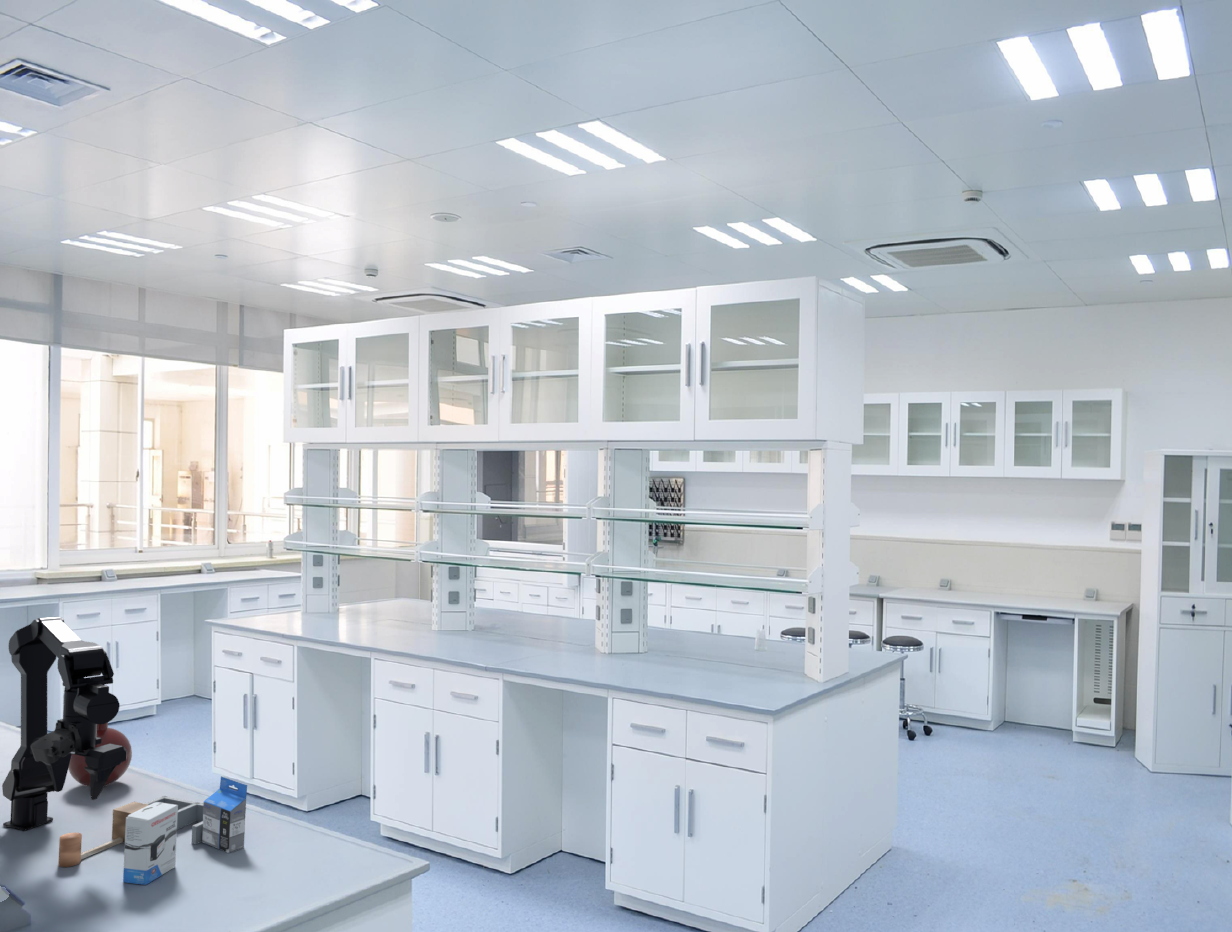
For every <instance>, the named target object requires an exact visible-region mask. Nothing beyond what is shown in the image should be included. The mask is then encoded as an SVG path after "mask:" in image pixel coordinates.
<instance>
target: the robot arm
mask: <svg viewBox="0 0 1232 932" xmlns="http://www.w3.org/2000/svg"><path fill="white" fill-rule="evenodd" d="M8 652H9V655H10V656H11V657H10V658H11V663H12V664H13V666H14V667H15V669H16V670H17V671H18V672H19V674H20V747H19V748H18V750H17V751H16V753H15V754H14V755H13V756H12V757H13V758H12V759H11V762H10V765H11V766H10V770H9V771H8V773H7V775H6V777H5V779H4V780H3V782H2V786H1V787H2V790H1V791H2V796H3V797H4V798H6V799H8V800H9V801H11V803H10V820H9V821H6V822H3V824H2V826H3V827H8V828H11V829H16V830H20V831H21V830H22V831H28V830H30V829H33V828H36V827H38V826H41V825H42V826H43V825H44V824H47V823H50V822H53V820H54V817H51V816H48V814H49V813H48V809H49V808H48V806H49V801H48V794H49V793H51V792H53V793H54V792H56V793H58V792H59V793H60V792H62V791H63V789H64V786H65V783H66V779H67V775H68V772H69V770H68V768H69V763H70V760H71V756H72V754H74V755H79V756H84V757H85V762H86V764H87V767H84V769H85V770H86V771H88V772H89V773H90V787H89V791H90V792H89V794H90V800H91V801H95V800H97V799H98V798H99V796H100V795H101V793H102V791H103V789H104V787H105V786H104V785H105V784H106V782H107V780H108V778H109V777H110V775H111V773H112V772H113V770H114V769H115V767H116V766H117V765H120V764H121V762H123V761H126V759H127V749H126V748H125V747H123V746H120V745H115V744H107V745H104V746H100V747H97V748H95V745H97V744H101V738H98V737H96V734H97V724H105V723H108V724H109V722H111V721H113V720H114V718H115V717H116V716H117V714H118V713H119V710H120V707H121V705H120V702H119V699H118V697H117V696H116V695H115V694H113V693H112V692H110V686H109V685H111V684H113V683H114V679H113V677H114V675H115V673H114V670H113V667H112V664H111V661H110V658H109V656H108V653H107V652H106V651H105V650H104V648H103V647H102V646H101V644H97V643H96V642H92V641H84V640H82V639H81V638H80V637H79V636H78V635H77V634H76V633H75V632H74V631H72V630H71V628H70V627H68V626H67V624H65V619H64V618H63V617H59V616H48V617H45V616H44V617H38V618H35V619H33V620H32V622H30V623H29V624H27V625H25V626H23V627H21V628H19V629H17V630H15V632H14V633H13V634H12V636H11V637H10V638H9V641H8ZM56 660H57V670H58V673H59V675H60V679H61V680H62V686H63V687H64V688H63V689H64V690H63V692H64V693H63V708H62V709H63V710H62V718H61V719H57V720H56V722H55V728H54V730H53V731H51V732H48V673H49V671H50V669H51V668H52V666H53V664H54V663H55V662H56Z"/></svg>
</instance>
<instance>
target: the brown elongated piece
mask: <svg viewBox="0 0 1232 932" xmlns="http://www.w3.org/2000/svg"><path fill="white" fill-rule="evenodd" d="M146 806H148V804H144V803H143V802H137V801H132V802H130V803H127V804H124V805H122V806H121V805H120V806H118V807H116V808H114V809H112V824H111V825H112V829H111V840H110V841H107V842H105V843H103V844H100V845H98V846H96V847H93V848H90V849H88V850H86V851H83V852H82V843H83V842H82V837H83V835H82V834H83V833H81V832H68V833H64V834H62V835H60V836H59V840H58V842H59V843H58V844H59V845H58V847H59V848H58V867H61V868H70V867H74V866H77V865H79V864H80V863H81V862H82V860H84V859H85V858H88V857H90V856H92V855H94V854H97V853H99V852H102V851H105V850H107V849H109V848H110V849H111V848H112V847H114V846H118V845H119V844H121V843H122V844H123V843H124V844H125V828H126V817H128V815H130V814H132V813H134V812H136V811H138V810H140V809H142V808H144V807H146Z"/></svg>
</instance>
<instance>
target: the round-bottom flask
mask: <svg viewBox="0 0 1232 932" xmlns="http://www.w3.org/2000/svg"><path fill="white" fill-rule="evenodd" d="M108 725H109V722H108V723H105V724H97V734H96V737H98V738H101V744H97V745H95V748H97V747H100V746H104V745H107V744H115V745H120V746H123V747H125V748H126V749H127V759H126V761H123V762H121V764H120V765H117V766H116V767H115V769H114V770H113V772H112V773H111V775H110V777H109V778H108V780H107V782H106V784H105V785H104V787H105V786H108V785H111V784H113V783H114V782H117V781H118V780H119V779H120V778H122V777H123V775H124V774H125V773H126V771H127V770H128V769H129V767H130V766H131V761H132V757H133V749H132V744H131V742H130V739H128V737H127V736H126V734H125V733H123V732H122V731H120V730H118V729H116V728H113V727H108ZM84 767H87V764H86V762H85V757H84V756H79V755H74V754H72V756H71V760H70V763H69V768H68V772H69V774H70V776H71V777H72V778H73V779H74V780H75V781H76V782H77V783H79V784H80V785H82V786H85V787H88V788H90V773H89V772H88V771H86V770H85V769H84Z"/></svg>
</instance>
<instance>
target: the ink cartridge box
mask: <svg viewBox="0 0 1232 932" xmlns="http://www.w3.org/2000/svg"><path fill="white" fill-rule="evenodd" d="M233 786H234V788H236V789H237V790H235V789H232V788H230V787H233ZM247 794H248V784H245V783H242V782H239V781H236V780H233V779H230V778H227V777H225V776H220V784H219V788H218V789H217V790H216V791H214V792H213V794H211V795H210V796H208V798H206V799H205V800H204V801H203V832H202V843H203V844H206V845H208V846H210V847H213V848H215V849H218V850H220V851H223V852H225V853H228V854H231V853H235V852H237V851H239V850H242V849H244V848H245V834H246V833H245V831H246V811H247V809H246V808H247V807H246V806H247V797H248V796H247Z"/></svg>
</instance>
